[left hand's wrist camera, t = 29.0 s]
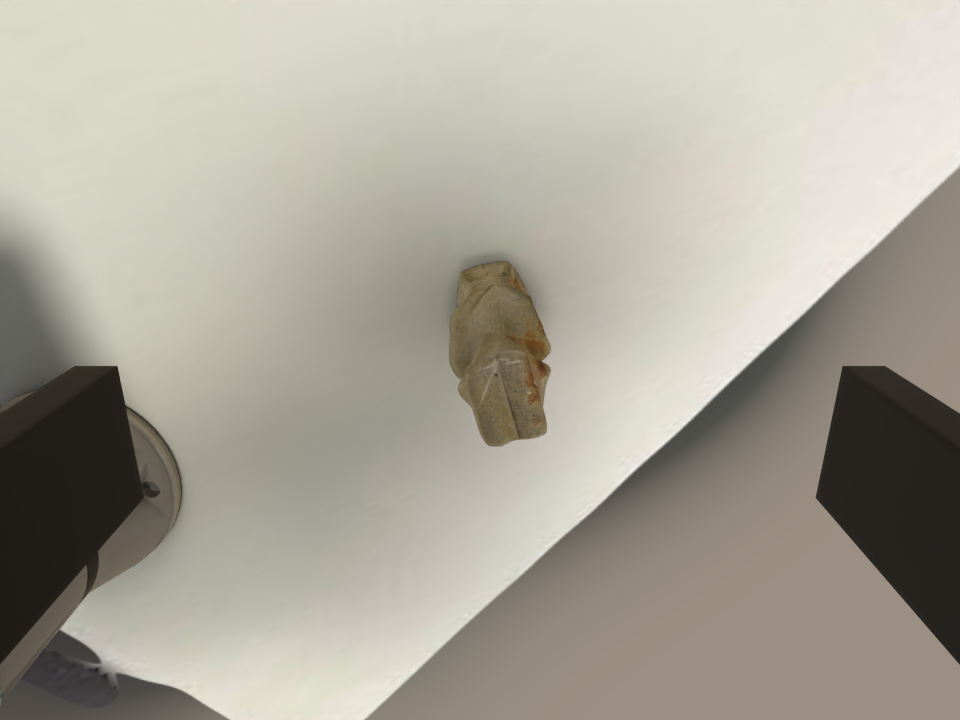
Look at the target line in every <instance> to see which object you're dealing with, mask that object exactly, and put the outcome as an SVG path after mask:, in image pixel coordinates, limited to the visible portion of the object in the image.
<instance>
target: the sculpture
mask: <svg viewBox="0 0 960 720" xmlns="http://www.w3.org/2000/svg"><path fill="white" fill-rule="evenodd" d="M550 350H551V346H550V343H549V341H548V339H547V337H546V335H545V332H544V329H543V326H542V324H541V322H540V320H539V317H538V315H537V312H536V310H535V308H534V305H533V303H532V299H531V297H530V296H529V295H528V293H527V291H526V288H525V286H524V284H523V282H522V281H521V279H520V277H519V275H518V274H517V272H516V271H515V269H514V268H513V267H512V265H511V264H510V263H508V262H497V263H491V264H486V265H481V266H477V267H473V268H470V269H467V270H465V271H463V272H462V273H461V275H460V278H459V284H458V291H457V309H456V310H455V312H454V313H453V315H452V317H451V321H450V346H449V361H450V365H451V368H452V370H453V372H454V373H455V375H456V376H457V377H458V378H459V379H461V382H460V383H459V385H458V391H459V393H460V395H461V397H462V398H463V399H464V400H465V401H466V402H467V403H468V404H469V405H470V406H471V407H472V409H473V412H474V416H475V419H476V422H477V426H478V429H479V432H480V434H481V436H482V438H483V440H484V441H485V442H486V444H487V445H489V446H503V445H505V444H507V443H509V442H511V441H514V440H520V439H531V438H537V437H540V436H542V435H544V434H545V433H546V431H547V424H546V418H545V414H544V410H543V401H544V394H545V387H546V383H547V380H548V377H549V375H550V372H551V369H550V367H549V366H548V365H547V364H545V363H543V362H542V360H543V359H545V358H546V357H547V356H548V355H549V353H550Z"/></svg>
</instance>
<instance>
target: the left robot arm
mask: <svg viewBox="0 0 960 720" xmlns="http://www.w3.org/2000/svg"><path fill="white" fill-rule="evenodd" d="M816 499H817V500H818V501H819V502H820V503H821V504H822V505H823V507H824V508H825V509H826V510H827V511H828V512H829V514H830V515H831V516H832V517H833V518H834V519H835V521H836V522H837V523H838V524H839V525H840V526H841V528H842V529H843V530H844V531H845V532H846V533H847V534H848V536H849V537H850V538H851V539H852V540H853V541H854V543H855V544H856V545H857V546H858V547H859V548H860V550H861V551H862V552H863V553H864V554H865V555H866V556H867V558H868V559H869V560H870V561H871V562H872V563H873V565H874V566H875V567H876V568H877V569H878V570H879V572H880V573H881V574H882V575H883V576H884V577H885V578H886V580H887V581H888V582H889V583H890V584H891V585H892V587H893V588H894V589H895V590H896V591H897V592H898V594H899V595H900V596H901V597H902V598H903V599H904V601H905V602H906V603H907V604H908V605H909V606H910V607H911V609H912V610H913V611H914V612H915V613H916V614H917V616H918V617H919V618H920V619H921V620H922V621H923V622H924V624H925V625H926V626H927V627H928V628H929V629H930V631H931V632H932V633H933V634H934V635H935V636H936V638H937V639H938V640H939V641H940V642H941V643H942V645H943V646H944V647H945V648H946V649H947V650H948V651H949V653H950V654H951V655H952V656H953V657H954V658H955V660H956V661H957V662H958V663H959V664H960V414H959V413H958V412H956V411H955V410H953V409H952V408H950V407H948V406H947V405H945V404H944V403H942V402H941V401H939V400H937V399H936V398H934V397H933V396H931V395H930V394H928V393H926V392H925V391H923V390H922V389H920V388H918V387H917V386H915V385H914V384H912V383H911V382H909V381H908V380H906V379H904V378H903V377H901V376H900V375H898V374H896V373H895V372H893V371H892V370H890V369H889V368H887V367H885V366H843V367H842V372H841V377H840V382H839V387H838V392H837V396H836V401H835V406H834V411H833V416H832V421H831V426H830V431H829V436H828V440H827V445H826V450H825V455H824V460H823V465H822V470H821V475H820V480H819V485H818V489H817V494H816ZM180 501H181V485H180V478H179V474H178V470H177V467H176V464H175V462H174V460H173V457H172V455H171V453H170V452H169V450H168V448H167V446H166V445H165V444H164V442H163V441H162V439H161V438H160V437H159V436H158V434H157V433H156V432H155V431H154V430H153V429H152V428H151V427H150V426H149V425H148V424H147V423H146V422H145V421H144V420H142V419H141V418H140V417H139V416H138V415H136V414H135V413H133V412H132V411H131V410H129V409H127V408H126V406H125V401H124V396H123V392H122V387H121V382H120V377H119V372H118V367H117V366H74V367H73V368H71V369H70V370H68V371H67V372H65V373H63V374H62V375H60V376H59V377H57V378H56V379H54V380H52V381H51V382H49V383H48V384H46V385H45V386H43V387H41V388H40V389H38V390H37V391H32V392H29V393H26V394H23V395H20V396H18V397H16V398H14V399H12V400H11V401H9V402H7V403H6V404H4V405H3V406H1V407H0V706H1V705H2V704H1V702H2V701H3V700H4V699H5V697H6V696H7V695H8V694H9V692H10V691H11V690H12V688H13V687H14V686H15V685H16V683H17V682H18V681H19V680H20V678H21V677H22V676H23V675H24V673H25V672H26V671H27V670H28V668H29V667H30V666H31V664H32V663H33V662H34V661H35V659H36V658H37V657H38V656H39V654H40V653H41V652H42V651H43V649H44V648H45V647H46V646H47V644H48V643H49V642H50V640H51V639H52V638H53V637H54V636H55V634H56V633H57V632H58V630H59V629H60V628H61V627H62V626H63V624H64V623H65V622H66V621H67V619H68V618H69V617H70V616H71V614H72V613H73V612H74V611H75V609H76V608H77V607H78V605H79V604H80V603H81V602H82V600H83V599H84V598H85V597H86V595H87V594H88V593H89V592H91V591H92V590H94V589H96V588H97V587H99V586H101V585H102V584H104V583H106V582H107V581H109V580H111V579H112V578H114V577H116V576H117V575H119V574H121V573H123V572H124V571H126V570H128V569H129V568H131V567H133V566H134V565H136V564H137V563H139V562H140V561H142V560H143V559H144V558H145V557H146V556H147V555H149V554H150V553H151V552H152V551H153V550H154V549H155V548H156V547H157V546H158V545H159V544H160V542H161V541H162V540H163V538H164V537H165V536H166V534H167V533H168V531H169V530H170V529H171V527H172V525H173V523H174V522H175V520H176V517H177V514H178V511H179V507H180Z"/></svg>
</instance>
